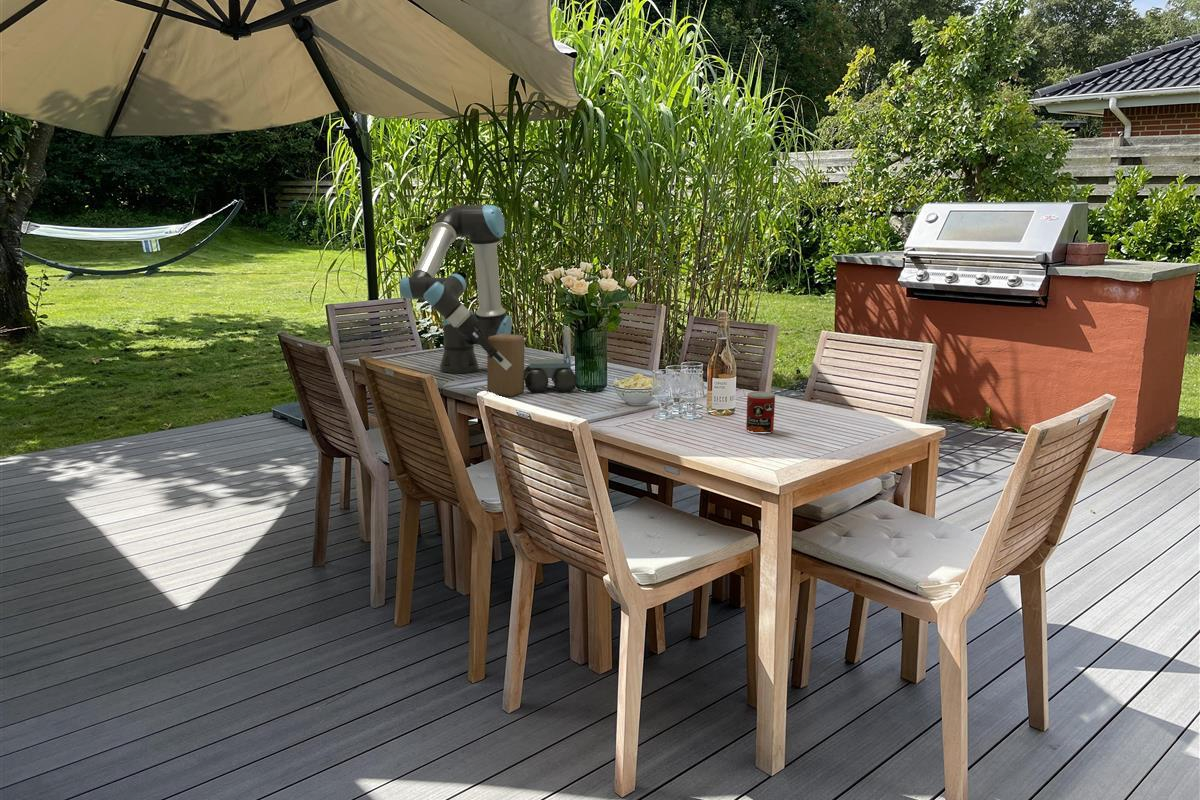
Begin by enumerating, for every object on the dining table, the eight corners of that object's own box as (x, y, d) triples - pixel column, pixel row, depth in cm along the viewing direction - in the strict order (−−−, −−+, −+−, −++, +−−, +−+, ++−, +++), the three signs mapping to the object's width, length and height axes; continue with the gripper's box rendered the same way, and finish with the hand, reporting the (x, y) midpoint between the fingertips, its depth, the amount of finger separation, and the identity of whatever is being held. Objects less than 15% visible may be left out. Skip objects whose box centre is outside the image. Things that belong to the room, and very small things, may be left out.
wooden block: (486, 394, 313) (486, 336, 309) (499, 389, 322) (499, 333, 318) (513, 397, 309) (513, 338, 306) (525, 392, 319) (525, 335, 315)
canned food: (743, 433, 260) (745, 395, 258) (749, 427, 267) (750, 390, 265) (770, 435, 257) (772, 397, 255) (775, 429, 265) (777, 392, 262)
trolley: (522, 386, 331) (522, 317, 326) (572, 385, 333) (572, 316, 328) (525, 393, 317) (524, 321, 312) (577, 392, 319) (577, 321, 314)
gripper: (456, 324, 321) (499, 366, 326) (454, 333, 297) (501, 378, 302) (471, 309, 321) (514, 351, 326) (470, 316, 297) (517, 362, 301)
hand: (508, 364), depth 314 cm, fingers open, 13 cm apart
